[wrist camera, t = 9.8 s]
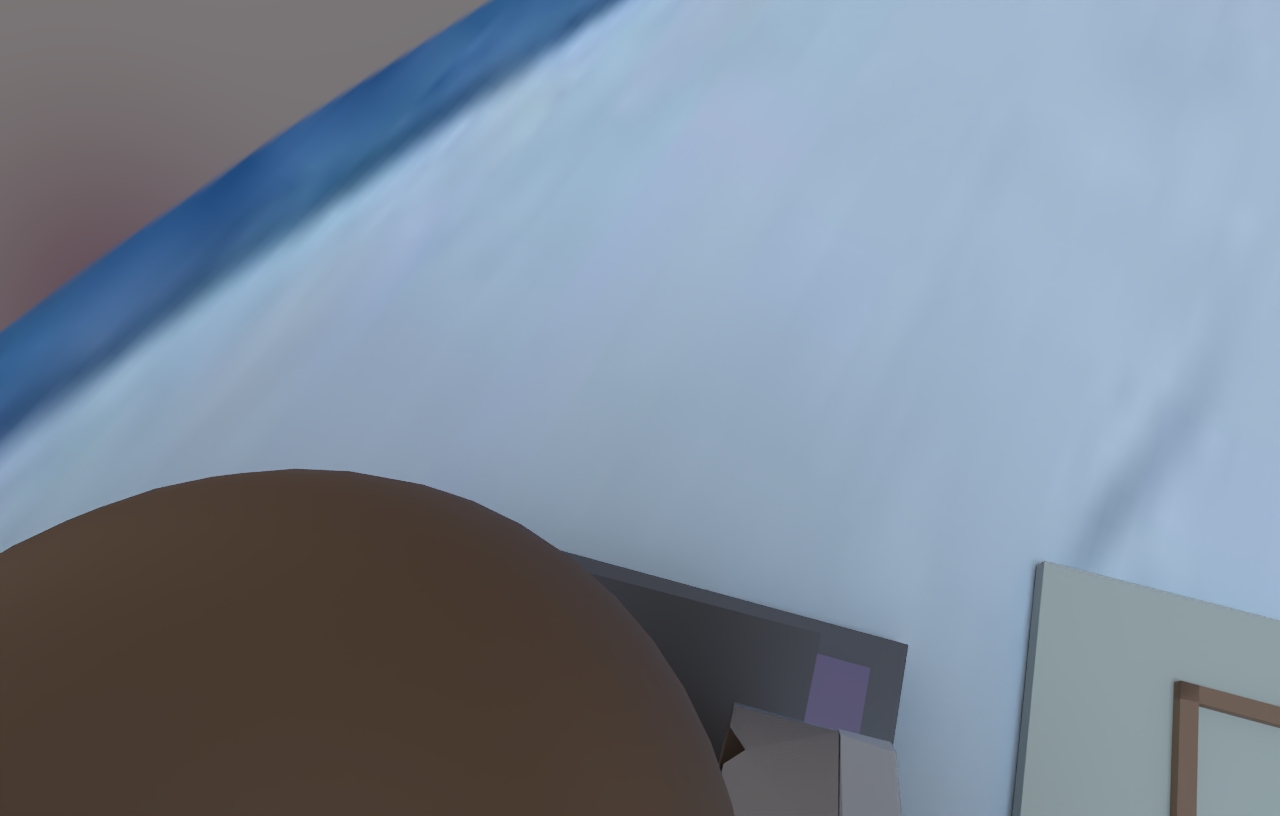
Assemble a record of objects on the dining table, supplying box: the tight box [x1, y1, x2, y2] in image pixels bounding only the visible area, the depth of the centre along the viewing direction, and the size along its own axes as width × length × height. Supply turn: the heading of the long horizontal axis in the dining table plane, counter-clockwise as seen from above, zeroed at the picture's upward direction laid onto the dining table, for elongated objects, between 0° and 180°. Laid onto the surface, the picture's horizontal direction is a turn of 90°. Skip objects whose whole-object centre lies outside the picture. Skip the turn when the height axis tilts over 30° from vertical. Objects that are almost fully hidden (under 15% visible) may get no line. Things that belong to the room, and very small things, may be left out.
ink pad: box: [561, 551, 908, 745], centre depth 20 cm, size 12×10×1 cm
